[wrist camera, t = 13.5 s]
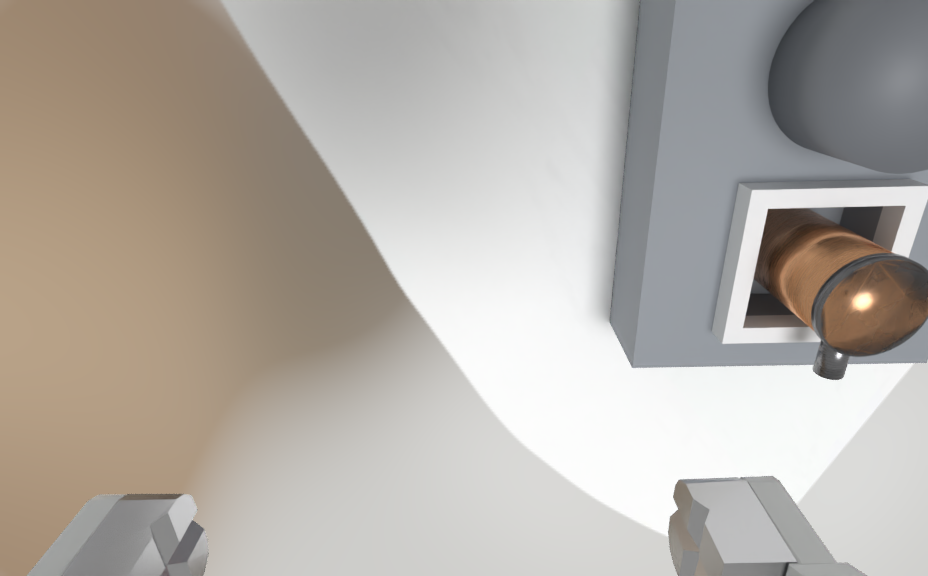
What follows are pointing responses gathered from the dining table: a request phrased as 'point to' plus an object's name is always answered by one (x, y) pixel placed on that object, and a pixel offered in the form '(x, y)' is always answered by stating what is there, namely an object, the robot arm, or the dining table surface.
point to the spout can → (840, 286)
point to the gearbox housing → (763, 166)
